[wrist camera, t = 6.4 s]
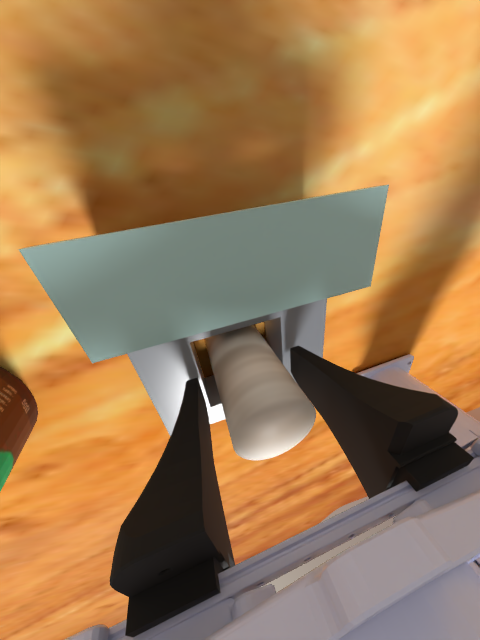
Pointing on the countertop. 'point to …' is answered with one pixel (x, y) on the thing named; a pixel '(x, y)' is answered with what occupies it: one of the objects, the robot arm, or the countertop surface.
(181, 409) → the robot arm
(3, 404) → the food container
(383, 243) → the countertop surface
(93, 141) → the countertop surface
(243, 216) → the socket block
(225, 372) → the peg
